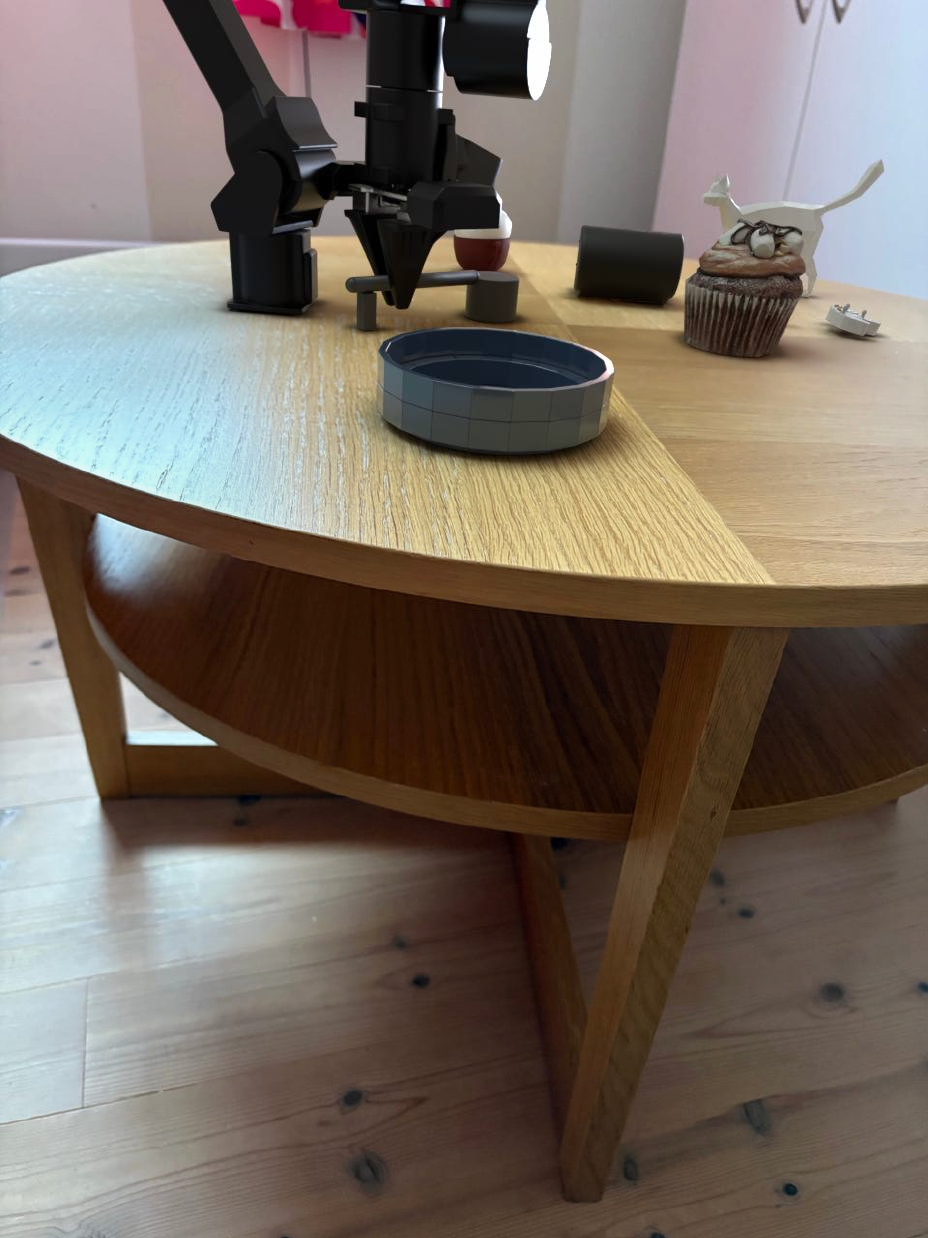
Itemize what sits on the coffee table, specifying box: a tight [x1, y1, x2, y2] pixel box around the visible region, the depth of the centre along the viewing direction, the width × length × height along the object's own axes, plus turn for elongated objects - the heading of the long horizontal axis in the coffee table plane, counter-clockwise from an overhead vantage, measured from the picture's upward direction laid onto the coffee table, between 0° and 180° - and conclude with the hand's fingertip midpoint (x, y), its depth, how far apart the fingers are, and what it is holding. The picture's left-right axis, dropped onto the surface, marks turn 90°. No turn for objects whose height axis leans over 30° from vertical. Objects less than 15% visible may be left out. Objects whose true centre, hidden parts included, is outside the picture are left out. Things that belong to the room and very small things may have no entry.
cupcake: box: [683, 219, 806, 358], centre depth 75 cm, size 10×10×10 cm
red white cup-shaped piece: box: [452, 209, 513, 272], centre depth 97 cm, size 10×6×12 cm, turn 1°
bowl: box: [376, 326, 616, 456], centre depth 54 cm, size 14×14×4 cm
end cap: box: [573, 224, 685, 305], centre depth 89 cm, size 10×7×7 cm
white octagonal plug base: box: [790, 303, 882, 337], centre depth 84 cm, size 6×12×3 cm, turn 100°
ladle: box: [344, 269, 520, 332], centre depth 76 cm, size 17×5×4 cm, turn 127°
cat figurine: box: [700, 158, 885, 298], centre depth 97 cm, size 4×20×14 cm, turn 99°
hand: (397, 307), depth 74 cm, fingers closed on ladle
